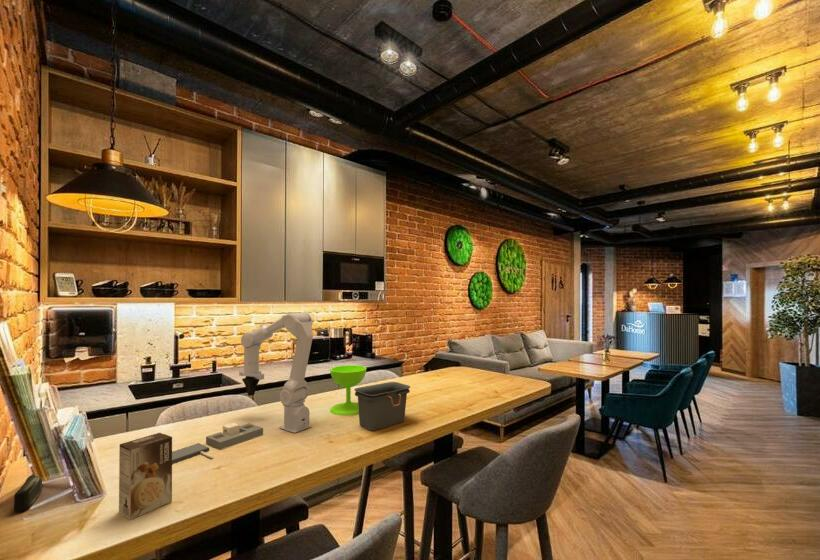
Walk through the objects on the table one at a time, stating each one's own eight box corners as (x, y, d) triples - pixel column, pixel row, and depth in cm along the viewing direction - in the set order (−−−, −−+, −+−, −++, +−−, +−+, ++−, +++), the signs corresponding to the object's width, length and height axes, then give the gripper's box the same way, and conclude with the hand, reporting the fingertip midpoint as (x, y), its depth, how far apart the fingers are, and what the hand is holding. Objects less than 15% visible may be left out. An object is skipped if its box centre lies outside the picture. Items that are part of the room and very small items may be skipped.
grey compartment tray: (263, 434, 136) (263, 427, 137) (220, 449, 123) (220, 442, 123) (248, 429, 141) (248, 422, 142) (205, 443, 128) (206, 436, 128)
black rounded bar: (10, 515, 87) (33, 488, 100) (28, 511, 88) (49, 485, 101) (11, 493, 87) (34, 469, 100) (29, 489, 89) (49, 466, 101)
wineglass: (350, 417, 155) (350, 374, 155) (322, 411, 163) (322, 370, 164) (373, 407, 168) (373, 367, 169) (346, 402, 177) (346, 364, 177)
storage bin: (392, 413, 160) (392, 380, 160) (417, 423, 148) (417, 386, 148) (350, 425, 145) (350, 388, 146) (374, 437, 134) (374, 397, 134)
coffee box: (159, 494, 96) (161, 431, 96) (172, 501, 92) (173, 436, 93) (117, 512, 88) (118, 443, 89) (129, 521, 85) (131, 449, 85)
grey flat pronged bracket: (220, 456, 118) (220, 452, 118) (176, 472, 108) (176, 468, 108) (198, 446, 126) (198, 442, 126) (155, 460, 115) (155, 456, 115)
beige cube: (239, 437, 134) (239, 424, 134) (228, 441, 131) (228, 428, 131) (233, 435, 136) (233, 422, 136) (222, 438, 133) (222, 425, 133)
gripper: (270, 362, 153) (270, 395, 152) (250, 358, 161) (249, 390, 160) (255, 364, 147) (254, 399, 146) (234, 361, 155) (234, 394, 155)
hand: (251, 395), depth 153 cm, fingers closed
